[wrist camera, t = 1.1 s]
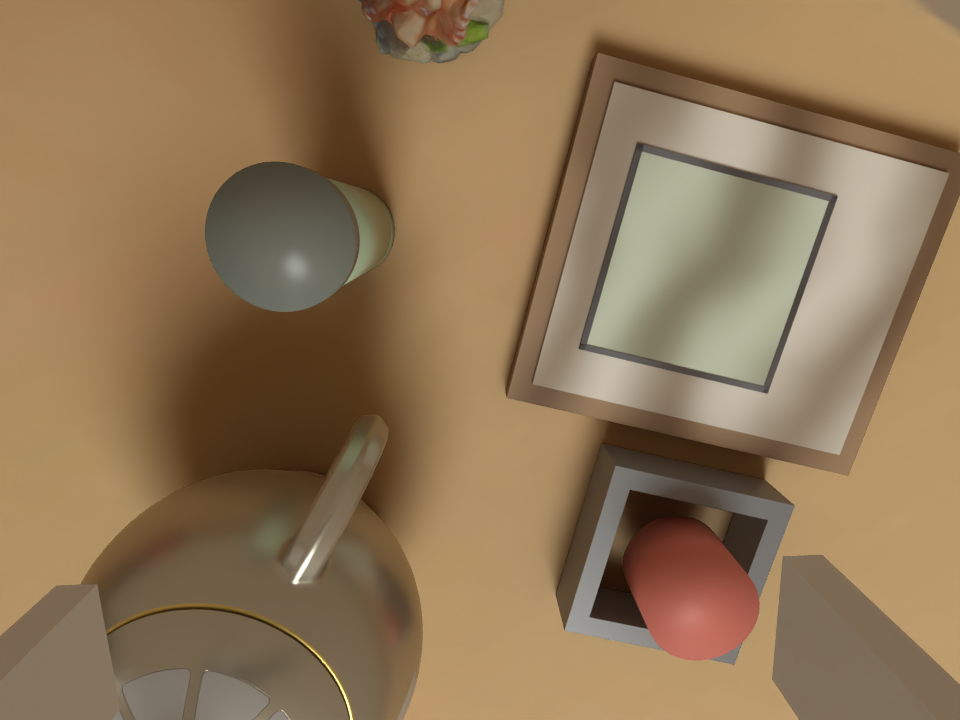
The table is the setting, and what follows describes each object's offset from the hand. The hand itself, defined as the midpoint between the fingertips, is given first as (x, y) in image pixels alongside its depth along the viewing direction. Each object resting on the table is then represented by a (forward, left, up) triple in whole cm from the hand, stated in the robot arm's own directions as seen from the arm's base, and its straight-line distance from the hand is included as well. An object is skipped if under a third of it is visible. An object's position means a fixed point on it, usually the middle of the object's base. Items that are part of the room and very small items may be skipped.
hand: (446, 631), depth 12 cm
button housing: (+13, -6, -20) cm, 24 cm away
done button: (+13, -6, -17) cm, 22 cm away
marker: (-6, +6, -20) cm, 21 cm away
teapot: (-5, -9, -20) cm, 22 cm away
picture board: (+12, +8, -20) cm, 24 cm away
